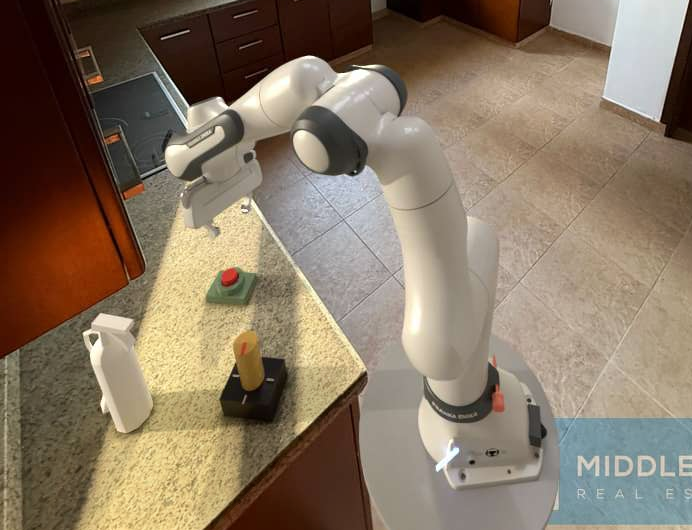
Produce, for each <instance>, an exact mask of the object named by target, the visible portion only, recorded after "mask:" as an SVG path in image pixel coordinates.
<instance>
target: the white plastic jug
mask: <svg viewBox="0 0 692 530" xmlns="http://www.w3.org/2000/svg"><path fill="white" fill-rule="evenodd" d="M134 325H135V320H134V319H133V318H128V317H123V316H118V315H113V314H107V313H102V312H100V313H99V314H98V315H97V316H96V318H95V319H93V321H92V322H91V325H90V326H91V327H90V329H88V330H85V331H83V332H82V335H83V340H84V344H85V347H86V349H87V351H88V352H89V357H90V363H91V367H92V369H93V372H94V375H95V377H96V380H97V382H98V385H99V387H100V390H101V392H102V397H101V400H100V404H99V405H100V408H101V410H102V414H106V413H109V414H110V415H111V418H112V420H113V423H114V426H115V429H116V432H120V433H123V434H128V433H130V432H132V431H135V430H137V429H139V428H140V427H141V426H142V424H144V422H145V421H146V420H147V419H148V418H149V416H150V414H151V412H152V409H153V407H154V401H153V398H152V394H151V391H150V388H149V386H148V383H147V380H146V377H145V374H144V372H143V368H142V365H141V362H140V360H139V357H138V353H137V351H136V348H135V343H136V342H137V340H136V338H135V336H134V335H133V334H132V332H130V331H131V329H132V328H133V326H134ZM92 334H96V335H98V339H96V341H95V342H94V344H92V343H91V342H90V337H89V335H92Z"/></svg>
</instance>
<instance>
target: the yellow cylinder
mask: <svg viewBox="0 0 692 530" xmlns="http://www.w3.org/2000/svg"><path fill="white" fill-rule="evenodd" d="M232 349H233V350H232V351H233V354H234V360H235V362H236V363H237V368H238V372H239V376H240V380H241V384H242V387H243V389H245V390H247V391H252V390H255V389H256V388H258V387H259V386H260V385H261V383H262V382H263V379H264V375H265V373H264V368H263V363H262V358H261V354H262V353H261V349H260V345H259V340H258V336H257V334H256V332H255V331H252V330H246V331H243V332H242V333H240V334H239V335H238V336H237V337H236V338H235V340H234V341H233V344H232Z"/></svg>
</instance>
